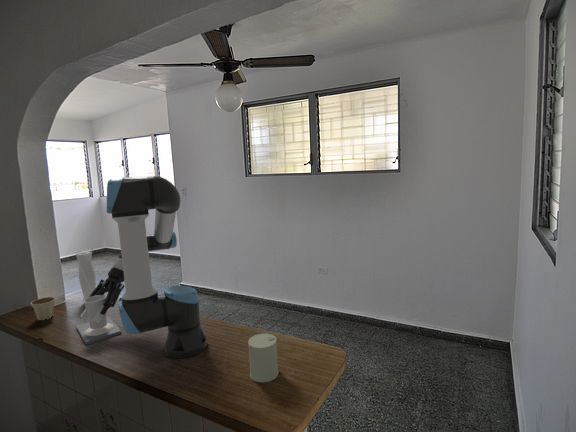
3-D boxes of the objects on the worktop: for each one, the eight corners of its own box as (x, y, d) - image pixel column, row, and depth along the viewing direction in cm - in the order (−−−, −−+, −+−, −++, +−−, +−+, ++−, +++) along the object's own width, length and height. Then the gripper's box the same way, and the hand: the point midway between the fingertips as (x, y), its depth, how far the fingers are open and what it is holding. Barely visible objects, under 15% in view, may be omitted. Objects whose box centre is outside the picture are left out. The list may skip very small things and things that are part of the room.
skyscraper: (96, 295, 189) (90, 246, 185) (101, 299, 184) (94, 248, 180) (80, 300, 183) (73, 249, 179) (84, 303, 178) (77, 251, 174)
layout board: (121, 333, 143) (121, 330, 143) (86, 344, 135) (85, 341, 135) (108, 318, 158) (108, 315, 158) (76, 328, 150) (75, 325, 150)
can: (281, 378, 108) (280, 343, 106) (252, 385, 105) (250, 348, 104) (274, 363, 117) (272, 329, 115) (247, 368, 114) (245, 334, 112)
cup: (93, 331, 139) (89, 303, 137) (84, 327, 144) (80, 299, 142) (112, 324, 145) (109, 297, 144) (103, 319, 150) (100, 293, 148)
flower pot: (62, 314, 166) (59, 297, 165) (45, 322, 157) (42, 305, 156) (45, 313, 168) (43, 296, 167) (28, 322, 159) (25, 304, 157)
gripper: (141, 277, 150) (112, 327, 139) (111, 272, 160) (82, 318, 149) (129, 269, 145) (97, 320, 133) (99, 264, 155) (67, 312, 143)
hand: (89, 319), depth 141 cm, fingers closed on cup, 8 cm apart
